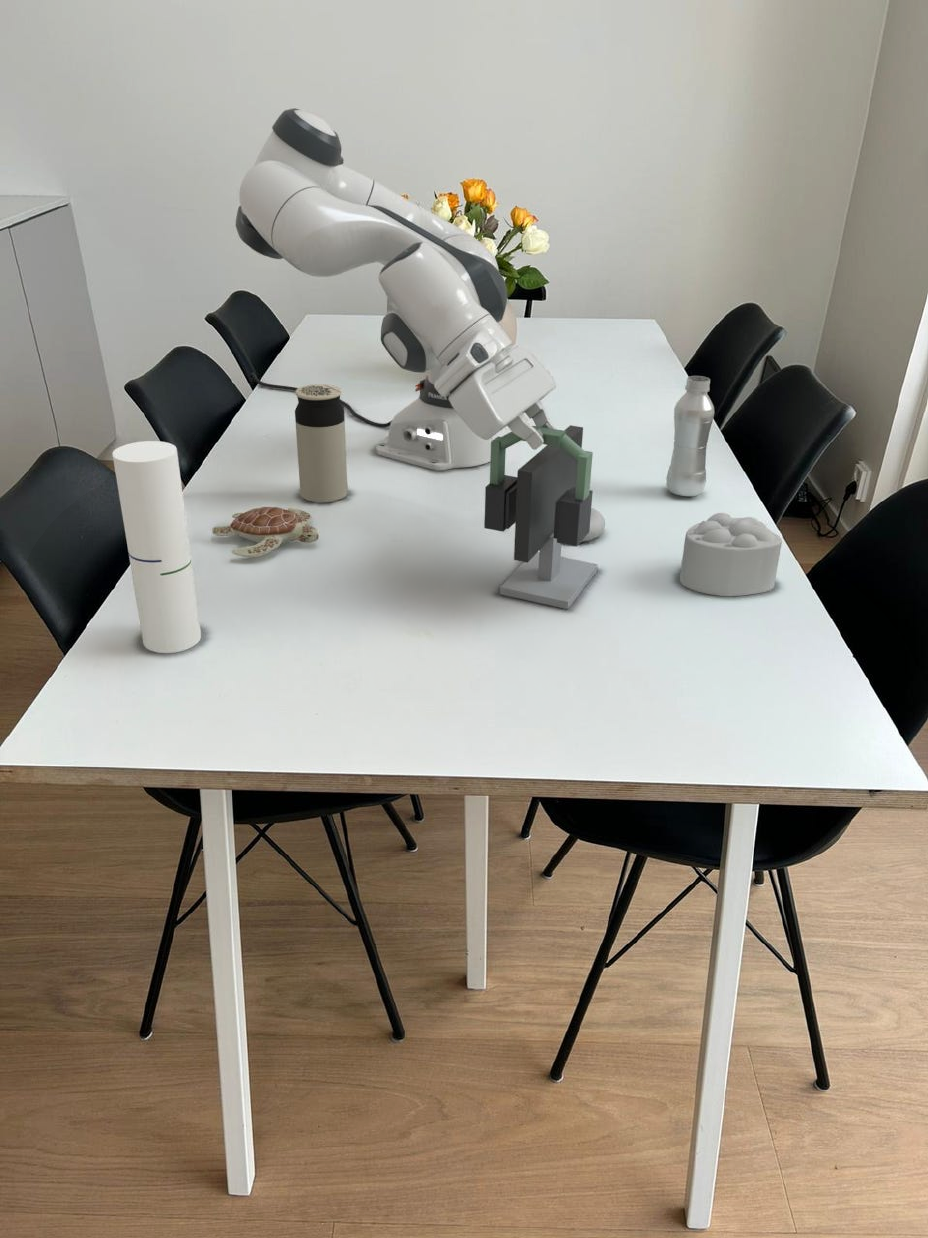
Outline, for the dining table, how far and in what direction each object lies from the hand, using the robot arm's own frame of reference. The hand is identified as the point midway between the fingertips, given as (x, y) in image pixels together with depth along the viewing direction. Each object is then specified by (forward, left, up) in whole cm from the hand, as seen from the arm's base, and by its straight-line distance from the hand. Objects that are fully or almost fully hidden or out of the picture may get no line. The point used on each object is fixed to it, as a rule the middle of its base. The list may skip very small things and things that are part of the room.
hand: (546, 440), depth 130 cm
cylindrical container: (-38, -32, -22) cm, 54 cm away
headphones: (-1, 0, -13) cm, 13 cm away
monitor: (-1, +4, -22) cm, 23 cm away
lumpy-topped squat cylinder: (+22, +16, -22) cm, 36 cm away
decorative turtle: (-44, -1, -22) cm, 49 cm away
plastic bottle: (+9, +46, -22) cm, 52 cm away
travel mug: (-46, +18, -22) cm, 54 cm away
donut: (-3, +22, -22) cm, 32 cm away
